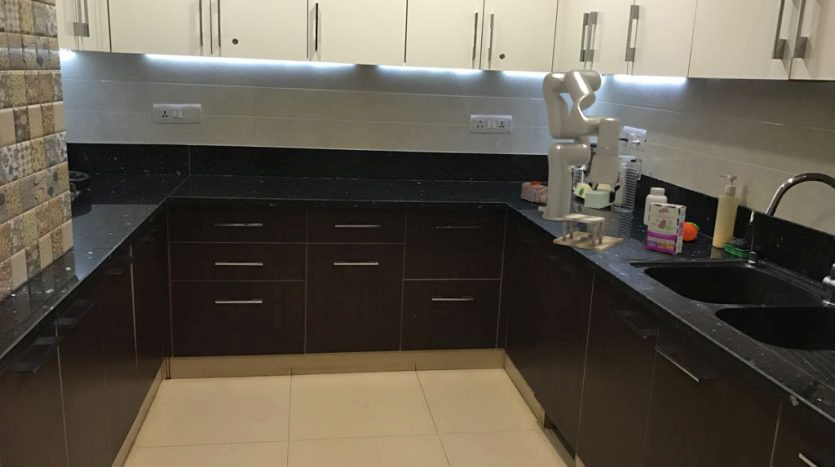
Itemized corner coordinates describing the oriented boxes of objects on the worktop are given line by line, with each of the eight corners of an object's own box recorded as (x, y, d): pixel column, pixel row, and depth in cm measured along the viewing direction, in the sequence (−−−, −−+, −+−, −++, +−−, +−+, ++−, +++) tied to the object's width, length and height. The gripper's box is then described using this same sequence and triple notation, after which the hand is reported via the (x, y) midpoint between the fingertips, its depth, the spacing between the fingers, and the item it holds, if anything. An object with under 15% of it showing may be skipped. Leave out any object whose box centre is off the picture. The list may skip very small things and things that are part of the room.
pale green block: (584, 206, 250) (585, 192, 249) (598, 202, 260) (599, 188, 259) (599, 208, 247) (600, 194, 246) (613, 203, 257) (614, 190, 256)
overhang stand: (553, 242, 249) (555, 215, 247) (576, 233, 265) (578, 207, 262) (601, 251, 238) (604, 222, 236) (622, 241, 254) (625, 214, 252)
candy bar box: (681, 253, 239) (687, 205, 236) (675, 255, 236) (680, 207, 232) (651, 246, 247) (656, 201, 243) (644, 249, 244) (649, 202, 240)
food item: (549, 203, 326) (551, 182, 324) (536, 204, 322) (537, 183, 320) (531, 198, 338) (532, 178, 336) (518, 200, 334) (519, 179, 332)
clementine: (702, 241, 257) (704, 222, 256) (693, 244, 253) (695, 225, 251) (681, 237, 263) (683, 219, 261) (672, 240, 258) (674, 221, 257)
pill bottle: (667, 227, 281) (671, 190, 277) (647, 226, 280) (650, 189, 277) (660, 223, 288) (663, 187, 285) (640, 222, 288) (644, 186, 285)
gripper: (580, 151, 255) (577, 200, 258) (626, 154, 245) (622, 205, 249) (588, 149, 261) (585, 197, 264) (634, 153, 251) (629, 203, 254)
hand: (603, 201), depth 256 cm, fingers closed on pale green block, 5 cm apart
